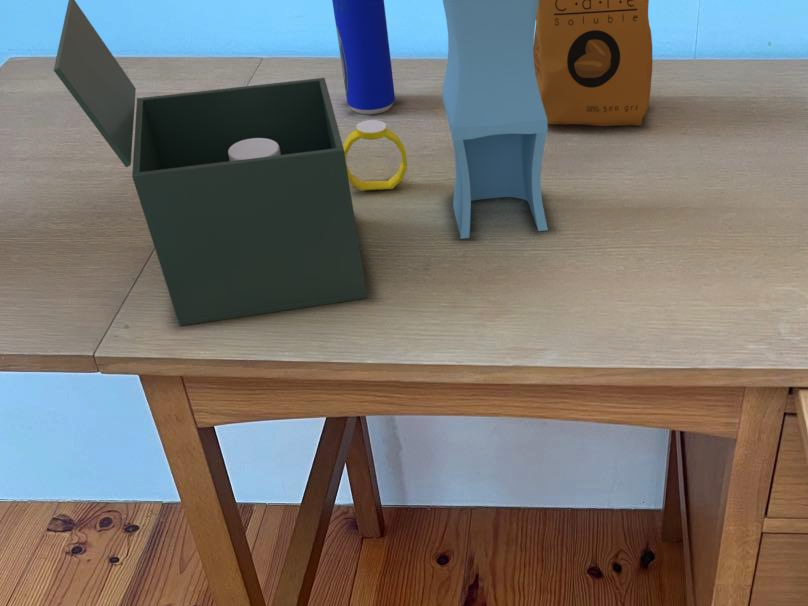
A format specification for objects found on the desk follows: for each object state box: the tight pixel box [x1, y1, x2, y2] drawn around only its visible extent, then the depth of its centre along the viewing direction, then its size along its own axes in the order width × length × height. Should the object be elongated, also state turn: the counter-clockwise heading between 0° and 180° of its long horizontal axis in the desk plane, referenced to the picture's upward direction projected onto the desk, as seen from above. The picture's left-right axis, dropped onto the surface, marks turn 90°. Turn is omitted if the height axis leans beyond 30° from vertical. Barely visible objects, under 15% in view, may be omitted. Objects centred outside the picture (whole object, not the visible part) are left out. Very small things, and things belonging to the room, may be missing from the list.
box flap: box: [53, 0, 137, 168], centre depth 73 cm, size 7×14×1 cm
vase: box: [441, 0, 549, 240], centre depth 85 cm, size 8×8×20 cm
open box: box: [131, 77, 368, 327], centre depth 81 cm, size 15×14×12 cm
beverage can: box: [331, 0, 396, 115], centre depth 104 cm, size 5×5×15 cm
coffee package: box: [533, 0, 654, 127], centre depth 99 cm, size 10×12×22 cm
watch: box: [342, 119, 408, 192], centre depth 94 cm, size 6×3×6 cm, turn 101°
